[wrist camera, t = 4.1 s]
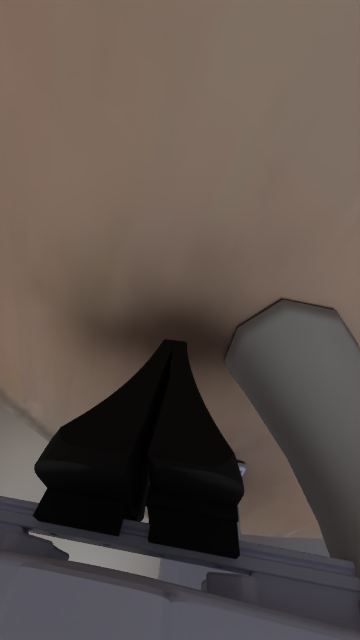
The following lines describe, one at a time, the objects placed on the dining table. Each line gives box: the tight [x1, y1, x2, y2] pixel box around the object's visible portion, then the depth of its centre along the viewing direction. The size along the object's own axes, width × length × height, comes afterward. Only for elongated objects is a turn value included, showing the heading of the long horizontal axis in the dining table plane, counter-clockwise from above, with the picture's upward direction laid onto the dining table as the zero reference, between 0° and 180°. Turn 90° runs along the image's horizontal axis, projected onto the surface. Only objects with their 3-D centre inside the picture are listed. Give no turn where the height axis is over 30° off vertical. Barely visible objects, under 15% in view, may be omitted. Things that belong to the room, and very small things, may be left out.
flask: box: [224, 300, 360, 614], centre depth 8 cm, size 7×7×10 cm
